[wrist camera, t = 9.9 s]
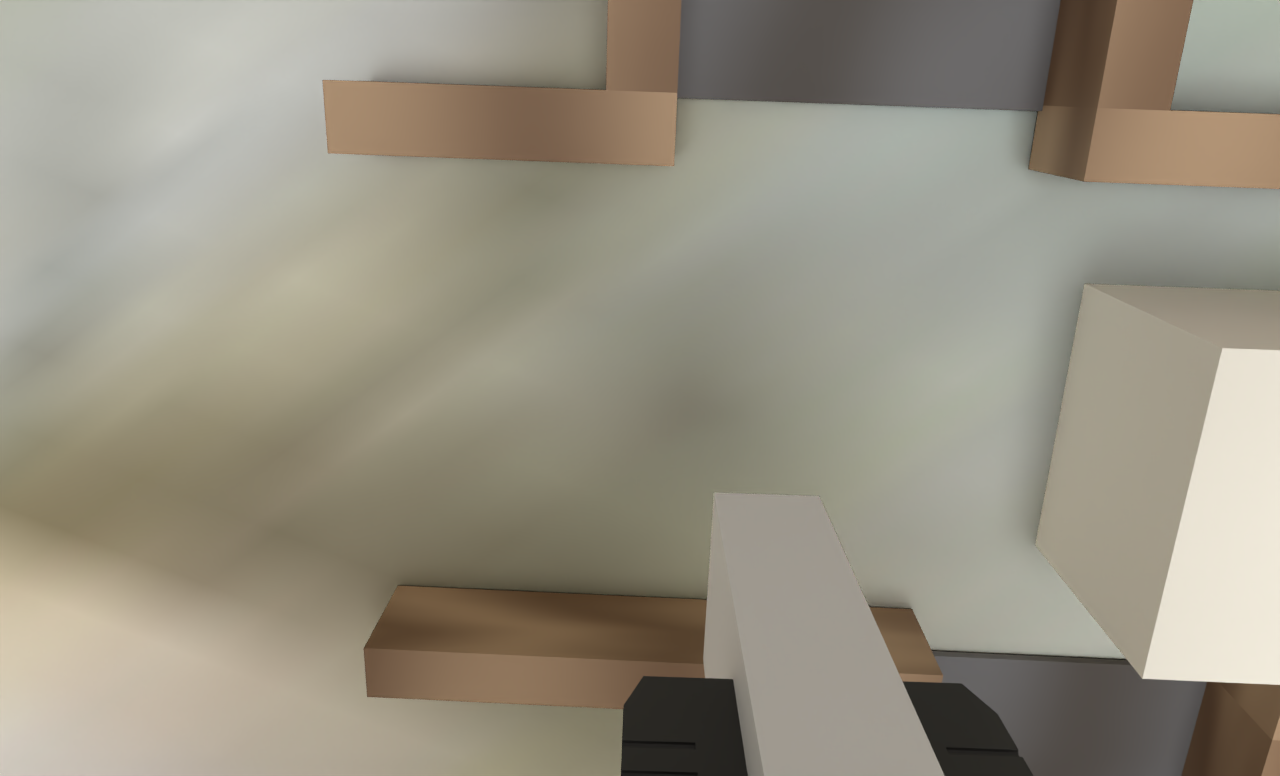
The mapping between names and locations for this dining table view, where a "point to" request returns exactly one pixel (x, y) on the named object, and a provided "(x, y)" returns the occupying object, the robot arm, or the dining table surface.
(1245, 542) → the block
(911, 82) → the trap channel
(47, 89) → the dining table surface
